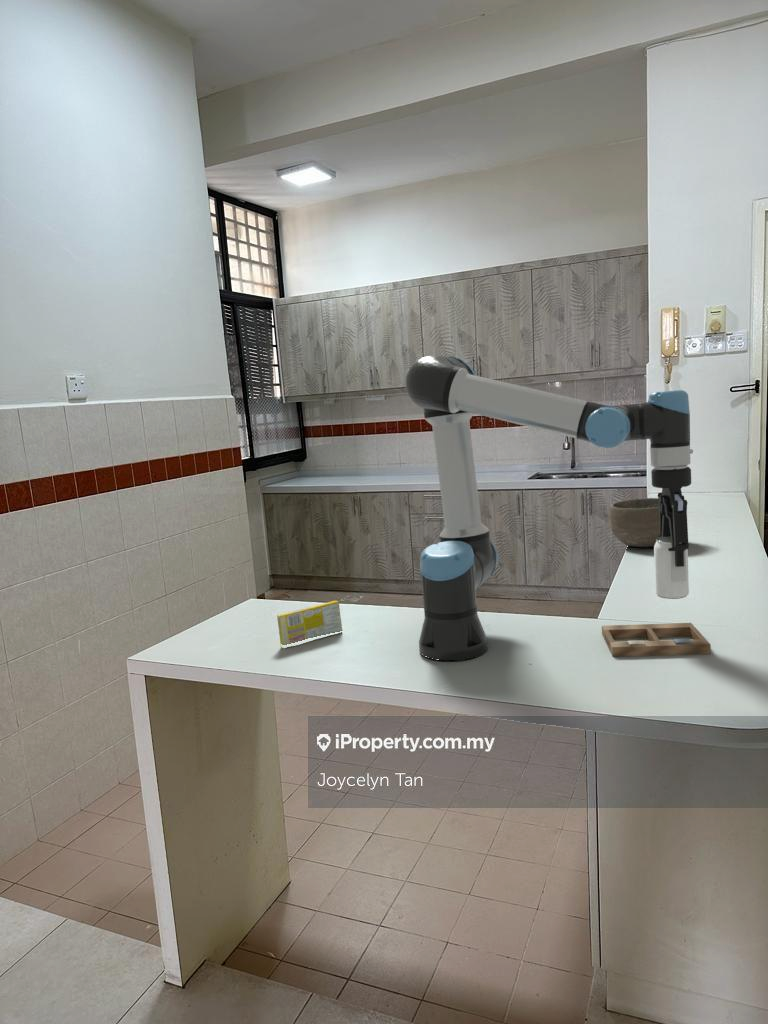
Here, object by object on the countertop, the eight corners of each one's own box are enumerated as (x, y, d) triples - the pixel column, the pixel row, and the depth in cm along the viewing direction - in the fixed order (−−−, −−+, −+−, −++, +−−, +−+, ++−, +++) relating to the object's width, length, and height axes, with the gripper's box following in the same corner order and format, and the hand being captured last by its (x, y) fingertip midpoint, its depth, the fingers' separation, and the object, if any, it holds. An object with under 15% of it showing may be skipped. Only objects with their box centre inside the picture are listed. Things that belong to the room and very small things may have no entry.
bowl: (622, 537, 259) (621, 497, 257) (692, 539, 245) (691, 497, 243) (600, 550, 240) (598, 507, 238) (675, 554, 226) (673, 508, 224)
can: (691, 599, 143) (690, 541, 141) (658, 599, 145) (656, 542, 143) (685, 590, 149) (684, 535, 148) (653, 591, 151) (651, 536, 149)
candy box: (339, 631, 176) (335, 599, 175) (343, 633, 175) (340, 601, 173) (280, 647, 168) (276, 614, 167) (283, 649, 166) (280, 616, 165)
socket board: (612, 656, 144) (612, 645, 143) (602, 634, 157) (601, 624, 157) (710, 653, 141) (710, 642, 140) (691, 631, 154) (690, 620, 154)
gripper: (704, 470, 133) (707, 588, 136) (677, 461, 152) (680, 565, 155) (663, 473, 134) (666, 590, 137) (641, 464, 153) (645, 567, 156)
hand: (674, 576), depth 146 cm, fingers closed on can, 6 cm apart
